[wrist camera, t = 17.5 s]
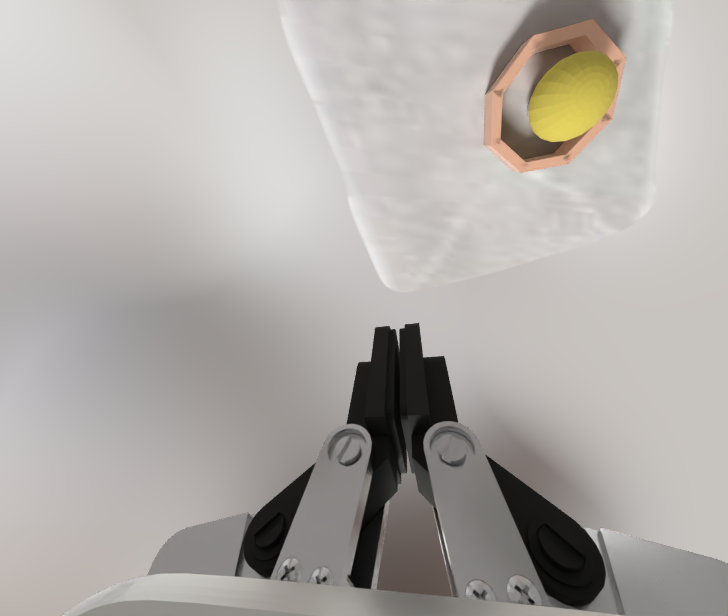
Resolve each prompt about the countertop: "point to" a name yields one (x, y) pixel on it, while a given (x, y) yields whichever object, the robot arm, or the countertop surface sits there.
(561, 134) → the light bulb
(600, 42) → the terracotta ring
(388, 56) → the countertop surface
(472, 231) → the countertop surface
